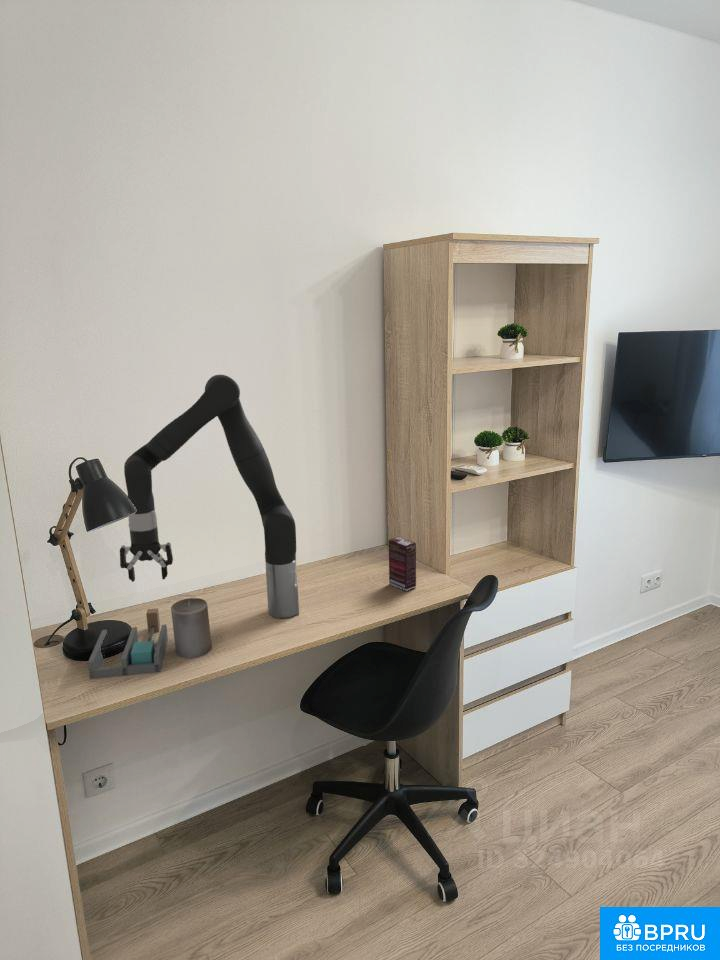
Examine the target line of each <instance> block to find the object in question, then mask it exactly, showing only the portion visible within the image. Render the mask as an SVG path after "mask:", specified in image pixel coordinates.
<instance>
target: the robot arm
mask: <svg viewBox="0 0 720 960" xmlns="http://www.w3.org/2000/svg"><path fill="white" fill-rule="evenodd" d="M240 396H241V389H240V387H239V384H238V382H236V381H235V380H234V379H233V378H232V377H230V376H229V375H225V374H215V375H212V376H211V377H210V378H209V379H208V380H207V381H206V384H205V386H204V391H203V393H202V395H201V396H200V397H199V398H198V399H197V401H196V402H195V403H193V405H192V406H190V407H189V408H187V410H186V411H184V412H183V413H182V414H180V415H179V416H178V417H176V418H174V419H173V420H172V421H171V422H169V423H168V424H167V425H165V426H164V427H163V428H162V429H161V430H159V432H158V433H156V434H155V435H154V436H153V437H152V438H151V439H150V440H149V441H148V442H147V443H145V444H144V445H143V446H141V447H140V448H139V449H137V450H136V451H134V452H133V453H132V454H131V455H129V456H128V458H127V459H125V462H124V464H123V465H124V467H123V468H124V469H123V473H124V481H125V485H126V491H127V499H128V498H129V499H130V500H131V502H132V503H133V504H134V506H135V507H136V509H137V512H136V513H135V514H133V515H130V516H129V515H128V528H129V537H130V546H125V545H123V544H122V545H121V547H120V548H119V565H120V568H121V569H127V573H128V579H129V580H131V582H132V583H133V582H135V580H136V574H135V573H136V572H135V567H134V565H136V564H137V562H138V561H140V562H144V561H151V562H152V561H153V560H154V562H156V563H157V564H159V565H160V567H161V568H160V569H161V579H162V580H165V579H166V578H167V577H168V574H169V573H168V566H169V565H170V566H171V565H172V564H173V561H174V557H173V552H172V551H173V549H172V544H171V542H166V543H164V544H160V540H159V530H158V529H159V528H158V518H157V513H156V506H155V499H154V493H153V481H152V480H153V478H152V475H153V474H152V471H153V470H154V469H155V468H156V467H157V466H158V465H159V464H161V463H162V462H165V461H166V460H168V459H170V458H171V457H172V456H173V455H174V454H175V453H176V452H178V450H180V449H181V448H182V447H183V446H184V445H185V444H186V443H187V442H188V441H189V440H190V439H191V438H193V437H194V436H195V435H196V434H197V433H198V432H199V431H200V430H201V429H203V428H204V427H205V426H206V425H207V424H208V423H209V422H211V421H213V420H214V419H215V418H216V417H217V418H218V420H219V422H220V424H221V427H222V429H223V433H224V435H225V439H226V442H227V446H228V449H229V451H230V453H231V456H232V459H233V462H234V464H235V466H236V468H237V471H238V473H239V475H240V476H241V479H242V480H243V481H244V483H245V485H246V487H247V488H248V490H249V491H250V492H251V494H252V496H253V498H254V501H255V503H256V505H257V508H258V511H259V514H260V518H261V522H262V523H261V524H262V526H263V531H264V532H263V535H264V546H265V547H264V562H265V575H266V576H265V578H266V595H267V609H268V610H267V612H268V615H269V616H270V617H272V618H275V619H288V618H291V617H293V616H297V615H299V614H300V607H299V605H300V604H299V588H298V585H299V584H298V575H297V571H298V570H297V529H296V528H297V527H296V521H295V519H294V517H293V514H292V513H291V510H290V509H289V508H288V506H287V504H286V503H285V501H284V499H283V497H282V495H281V494H280V492H279V490H278V487H277V484H276V479H275V475H274V472H273V468H272V466H271V465H272V464H271V463H270V461H269V460H270V459H269V457H268V455H267V453H266V450H265V448H264V446H263V444H262V441H261V440H260V438H259V436H258V435H257V433H256V431H255V429H254V428H253V427H252V425H251V423H250V422H249V420H248V418H247V416H246V414H245V412H244V409H243V405H242V403H241V400H240ZM161 550H163V552H164V553H166V559H165V558H164V557H163V555H162V554H161V553H160V551H161ZM129 552H130V553H131V554H132V555H133V557H132V558H131V560H130V561H129V562H127V555H128V553H129Z"/></svg>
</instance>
